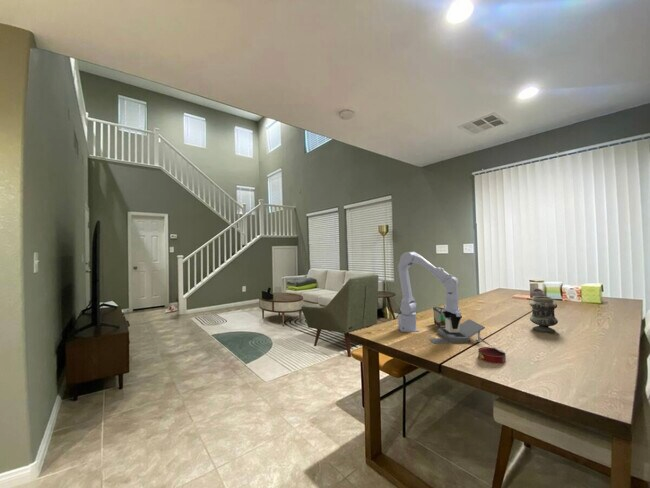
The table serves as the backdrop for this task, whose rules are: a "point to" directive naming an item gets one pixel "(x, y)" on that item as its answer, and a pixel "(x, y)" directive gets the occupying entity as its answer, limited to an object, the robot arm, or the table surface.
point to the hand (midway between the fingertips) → (452, 327)
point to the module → (449, 326)
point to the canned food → (491, 354)
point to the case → (462, 332)
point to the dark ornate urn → (543, 313)
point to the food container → (439, 317)
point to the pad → (438, 340)
